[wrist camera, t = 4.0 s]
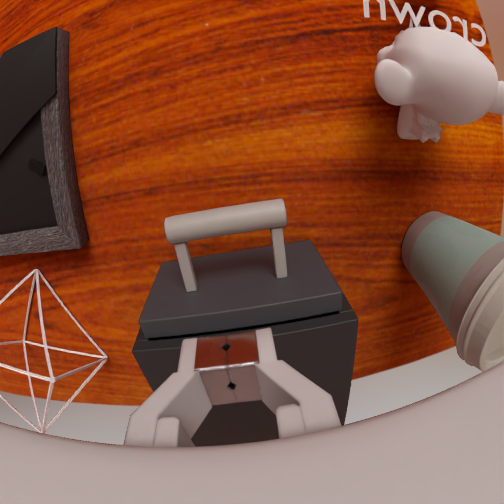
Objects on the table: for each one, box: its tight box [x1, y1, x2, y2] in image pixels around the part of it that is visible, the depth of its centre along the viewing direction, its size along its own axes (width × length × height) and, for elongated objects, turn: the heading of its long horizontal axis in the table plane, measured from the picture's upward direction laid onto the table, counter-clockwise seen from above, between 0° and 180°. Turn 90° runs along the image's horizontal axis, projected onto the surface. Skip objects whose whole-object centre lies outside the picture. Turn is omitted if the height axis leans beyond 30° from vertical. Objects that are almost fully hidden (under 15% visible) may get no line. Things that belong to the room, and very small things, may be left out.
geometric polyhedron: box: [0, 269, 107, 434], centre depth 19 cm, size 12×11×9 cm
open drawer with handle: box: [139, 199, 342, 339], centre depth 19 cm, size 15×10×7 cm
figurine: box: [363, 0, 504, 143], centre depth 13 cm, size 12×8×10 cm
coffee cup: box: [402, 211, 504, 372], centre depth 17 cm, size 9×8×12 cm
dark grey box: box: [132, 249, 358, 447], centre depth 20 cm, size 12×12×9 cm
